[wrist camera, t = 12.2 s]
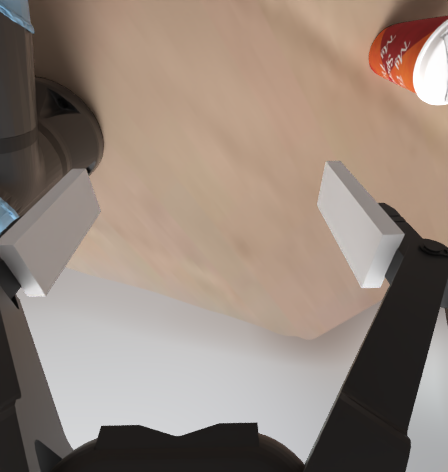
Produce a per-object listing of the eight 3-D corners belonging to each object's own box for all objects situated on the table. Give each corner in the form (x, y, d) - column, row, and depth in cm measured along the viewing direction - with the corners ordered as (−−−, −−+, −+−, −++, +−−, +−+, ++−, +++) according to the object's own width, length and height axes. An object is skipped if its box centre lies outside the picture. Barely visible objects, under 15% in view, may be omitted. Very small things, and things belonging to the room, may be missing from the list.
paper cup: (349, 47, 35) (408, 57, 24) (410, -5, 32) (509, -21, 21) (374, 97, 39) (436, 126, 28) (431, 54, 36) (525, 67, 25)
